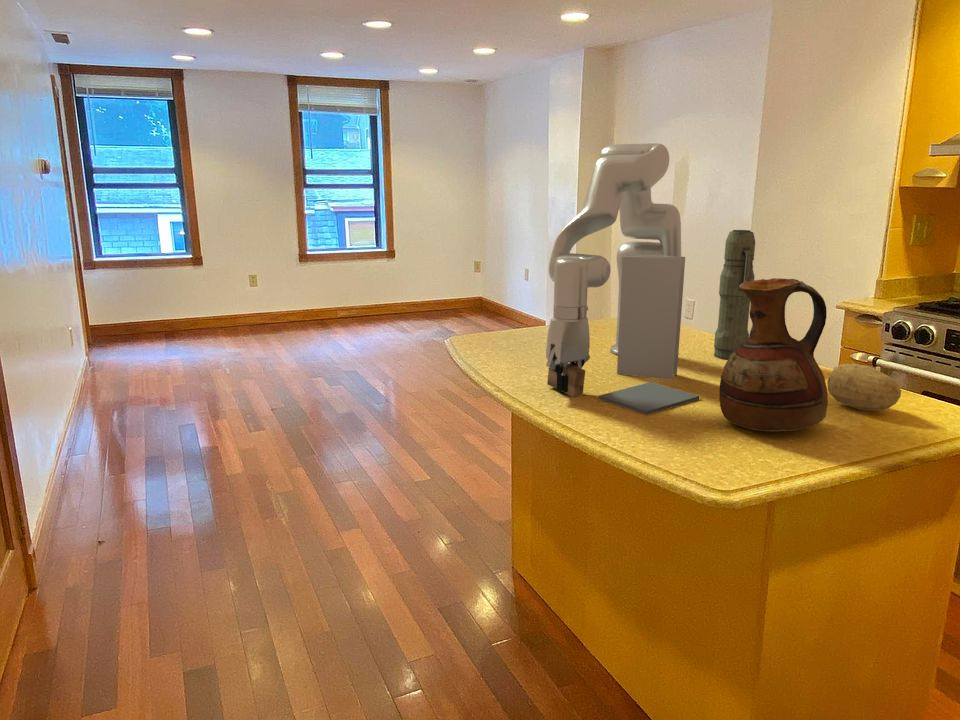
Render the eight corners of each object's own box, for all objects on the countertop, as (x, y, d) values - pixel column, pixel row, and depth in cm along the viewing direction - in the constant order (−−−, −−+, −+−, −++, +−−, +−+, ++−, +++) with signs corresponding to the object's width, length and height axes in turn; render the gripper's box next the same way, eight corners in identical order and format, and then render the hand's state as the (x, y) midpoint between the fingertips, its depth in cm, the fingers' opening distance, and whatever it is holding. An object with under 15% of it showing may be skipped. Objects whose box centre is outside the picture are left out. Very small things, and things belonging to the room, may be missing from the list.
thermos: (732, 350, 201) (743, 228, 192) (756, 360, 190) (769, 231, 181) (704, 352, 199) (714, 229, 191) (727, 362, 188) (739, 232, 179)
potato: (858, 397, 158) (864, 357, 155) (903, 418, 144) (910, 374, 141) (817, 399, 157) (822, 358, 154) (858, 420, 143) (865, 376, 140)
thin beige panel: (677, 374, 177) (685, 256, 169) (673, 380, 172) (681, 259, 164) (622, 368, 182) (627, 254, 175) (616, 373, 178) (622, 256, 170)
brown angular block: (556, 382, 167) (558, 358, 165) (582, 394, 160) (585, 370, 158) (547, 384, 165) (549, 360, 164) (573, 396, 159) (575, 372, 157)
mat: (650, 385, 168) (650, 381, 167) (699, 399, 157) (699, 395, 157) (598, 398, 157) (598, 395, 157) (646, 415, 146) (647, 411, 146)
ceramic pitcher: (705, 409, 150) (716, 271, 143) (799, 409, 150) (815, 271, 142) (734, 442, 131) (749, 285, 124) (842, 443, 131) (864, 285, 123)
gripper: (583, 306, 165) (581, 380, 170) (532, 314, 156) (530, 392, 160) (606, 311, 159) (603, 387, 164) (554, 319, 150) (552, 400, 155)
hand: (567, 389), depth 162 cm, fingers closed on brown angular block, 2 cm apart
